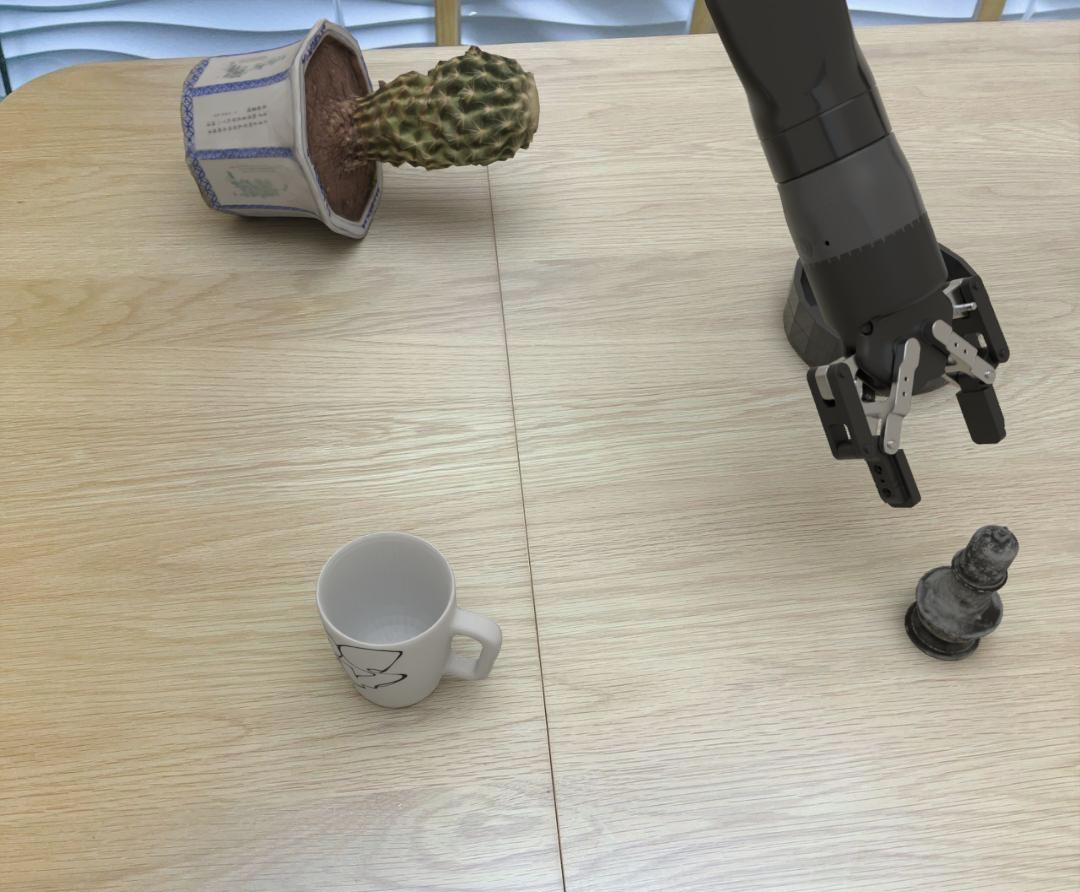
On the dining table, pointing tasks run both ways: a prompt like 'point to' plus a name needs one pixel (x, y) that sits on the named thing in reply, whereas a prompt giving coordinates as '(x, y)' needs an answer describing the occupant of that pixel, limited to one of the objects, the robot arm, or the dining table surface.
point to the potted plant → (342, 125)
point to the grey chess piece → (962, 596)
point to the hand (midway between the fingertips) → (949, 472)
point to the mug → (399, 618)
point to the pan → (821, 340)
